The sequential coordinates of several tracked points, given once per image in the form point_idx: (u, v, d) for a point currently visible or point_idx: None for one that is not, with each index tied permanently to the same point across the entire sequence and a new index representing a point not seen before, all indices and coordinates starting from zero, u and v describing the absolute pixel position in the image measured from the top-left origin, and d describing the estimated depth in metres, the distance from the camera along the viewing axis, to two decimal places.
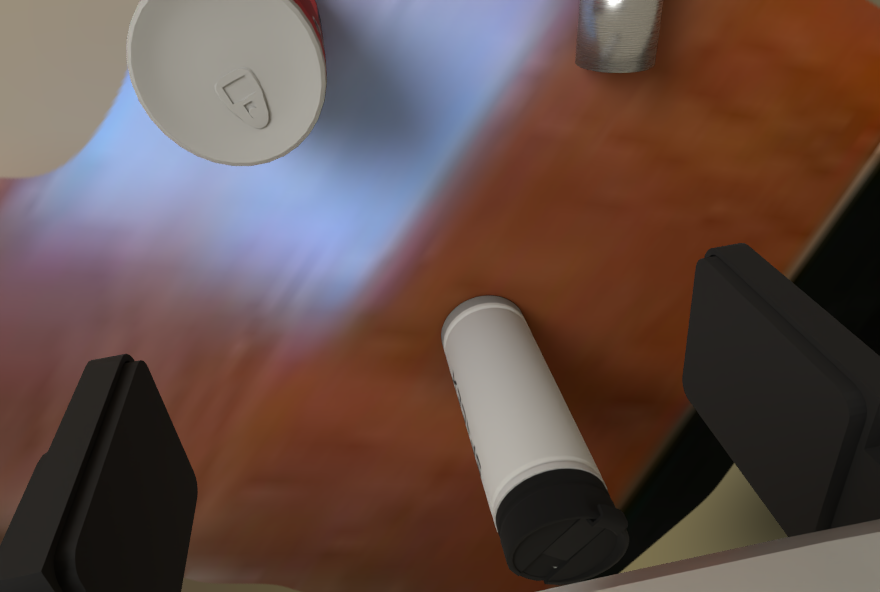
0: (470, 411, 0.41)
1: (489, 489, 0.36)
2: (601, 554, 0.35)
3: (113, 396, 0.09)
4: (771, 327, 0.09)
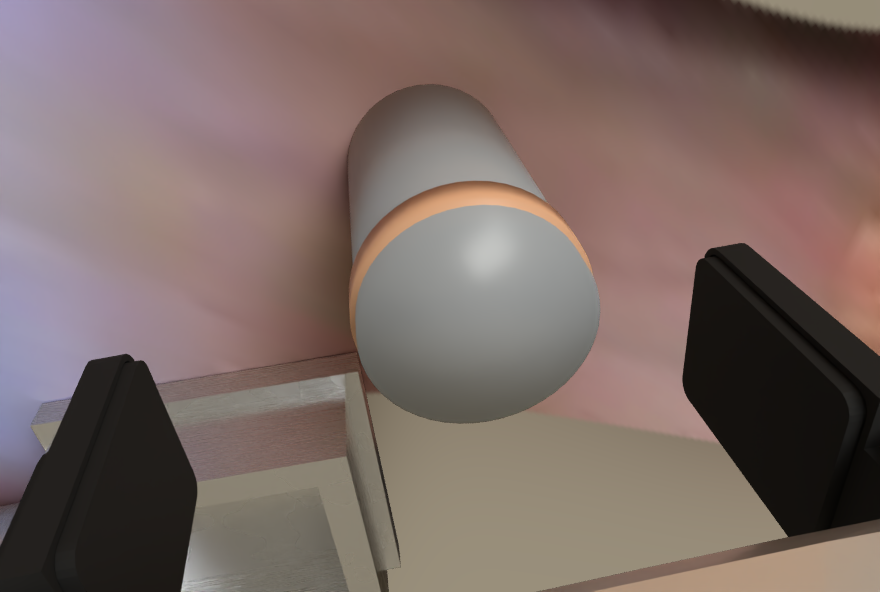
0: None
1: None
2: None
3: (113, 396, 0.09)
4: (771, 327, 0.09)
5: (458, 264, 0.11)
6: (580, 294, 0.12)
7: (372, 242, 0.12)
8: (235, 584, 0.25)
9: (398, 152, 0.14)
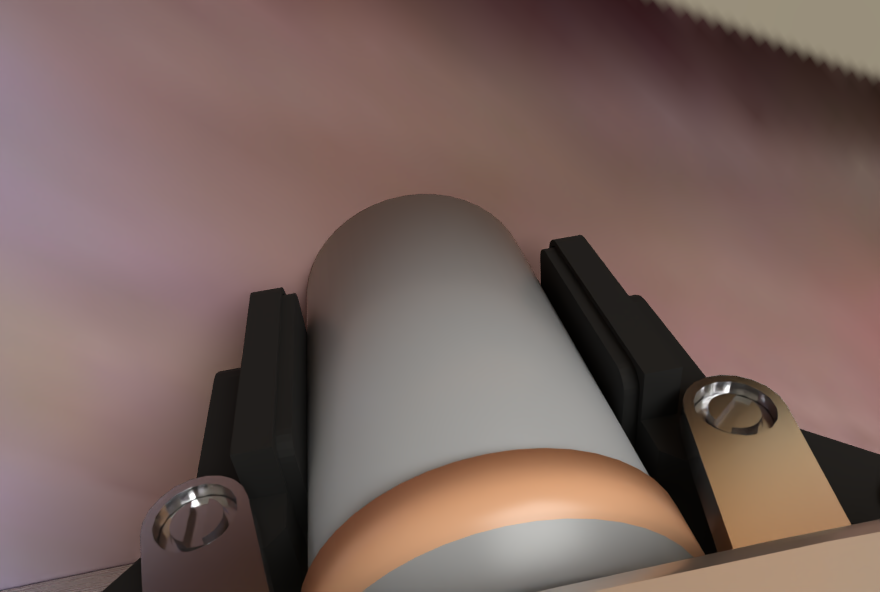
0: None
1: None
2: None
3: (282, 320, 0.10)
4: (582, 311, 0.10)
5: None
6: None
7: (336, 575, 0.07)
8: None
9: (378, 343, 0.09)
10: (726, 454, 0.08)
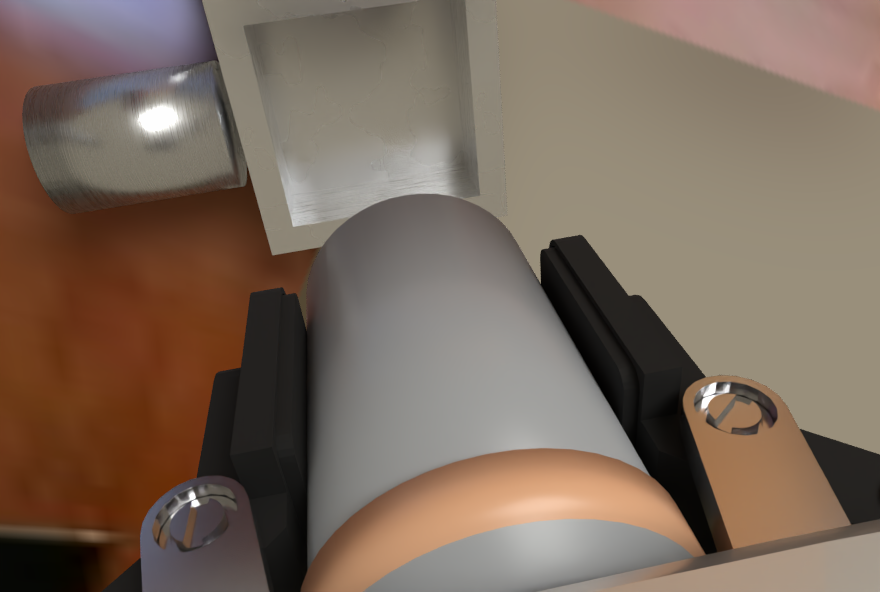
0: None
1: None
2: None
3: (283, 320, 0.10)
4: (582, 311, 0.10)
5: None
6: None
7: (335, 575, 0.06)
8: (356, 189, 0.27)
9: (378, 343, 0.09)
10: (726, 454, 0.08)
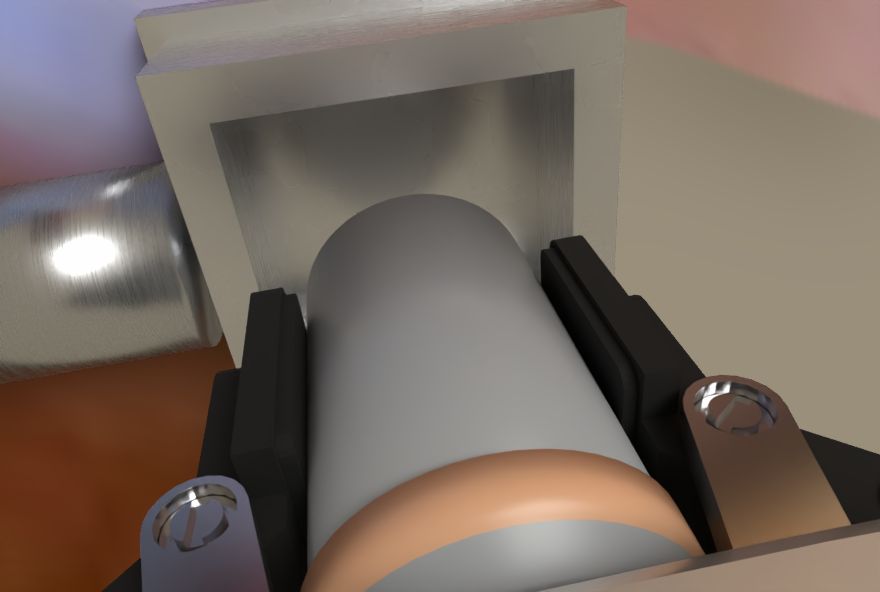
0: None
1: None
2: None
3: (283, 319, 0.10)
4: (582, 311, 0.10)
5: None
6: None
7: (335, 575, 0.06)
8: None
9: (378, 343, 0.09)
10: (726, 454, 0.08)
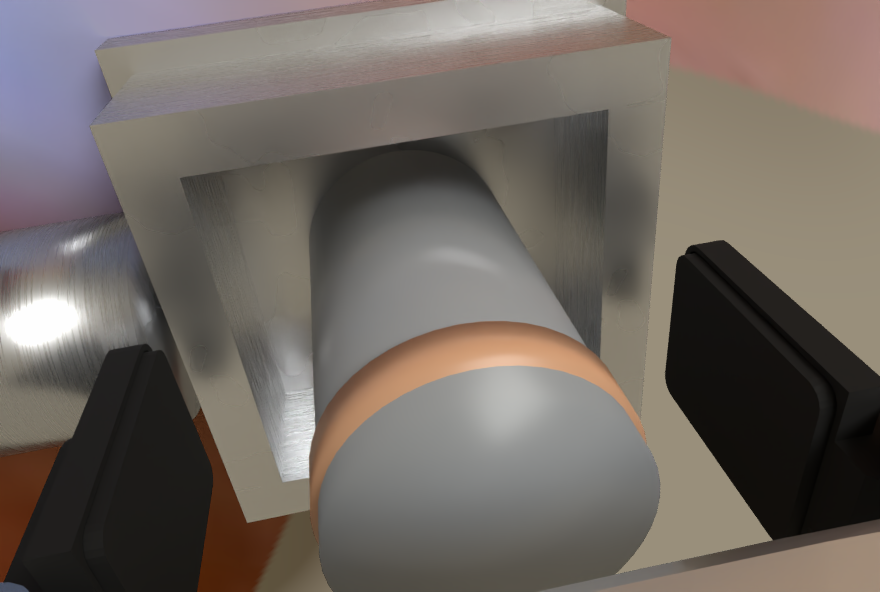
0: None
1: None
2: None
3: (134, 384, 0.10)
4: (747, 322, 0.09)
5: (465, 456, 0.08)
6: (634, 478, 0.08)
7: (340, 416, 0.08)
8: None
9: (372, 259, 0.11)
10: None
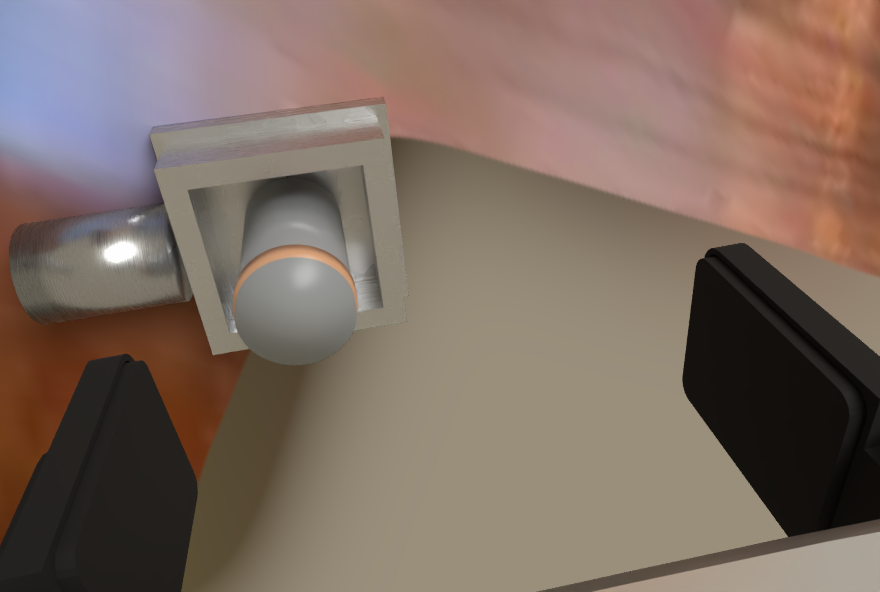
0: None
1: None
2: None
3: (113, 396, 0.09)
4: (771, 327, 0.09)
5: (282, 285, 0.24)
6: (344, 299, 0.25)
7: (243, 274, 0.24)
8: None
9: (263, 224, 0.27)
10: None
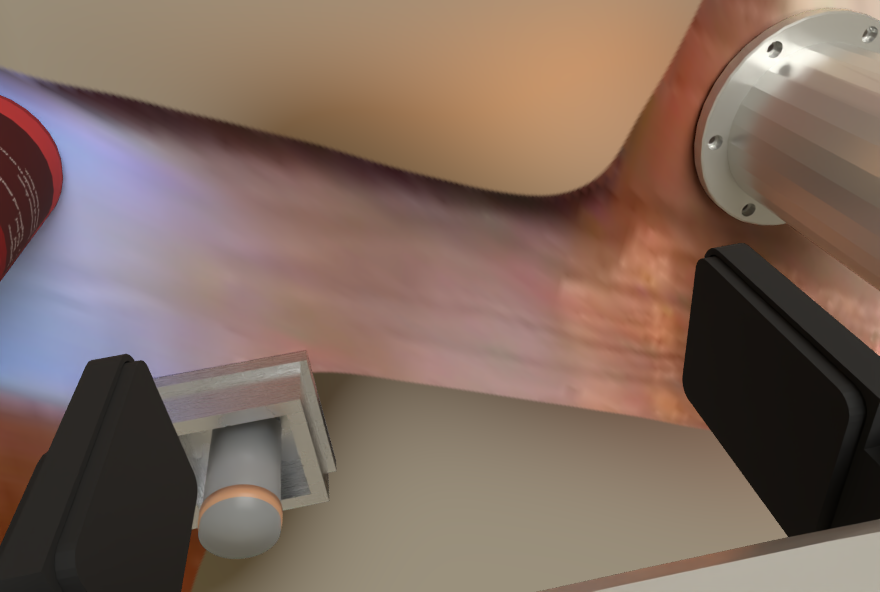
0: None
1: None
2: None
3: (113, 396, 0.09)
4: (771, 327, 0.09)
5: (228, 516, 0.37)
6: (271, 520, 0.37)
7: (204, 506, 0.37)
8: None
9: (220, 458, 0.40)
10: None
